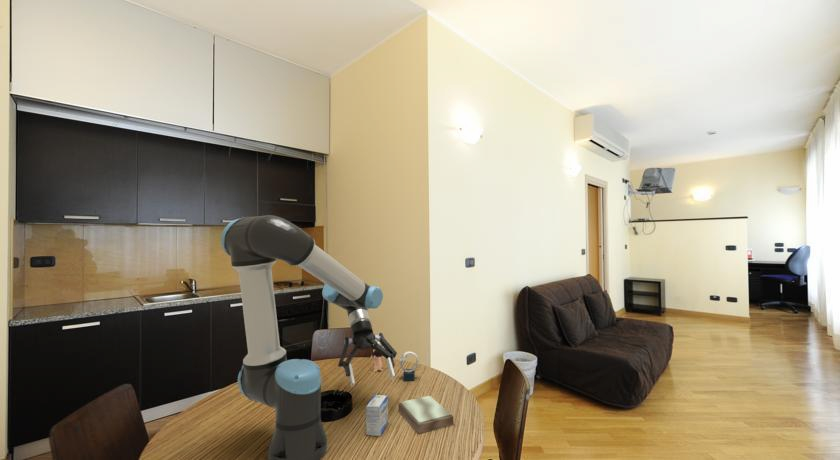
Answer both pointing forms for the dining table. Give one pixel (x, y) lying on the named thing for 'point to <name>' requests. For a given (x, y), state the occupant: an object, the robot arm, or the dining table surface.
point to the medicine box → (377, 415)
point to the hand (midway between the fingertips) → (373, 381)
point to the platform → (425, 414)
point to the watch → (408, 373)
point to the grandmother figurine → (377, 360)
